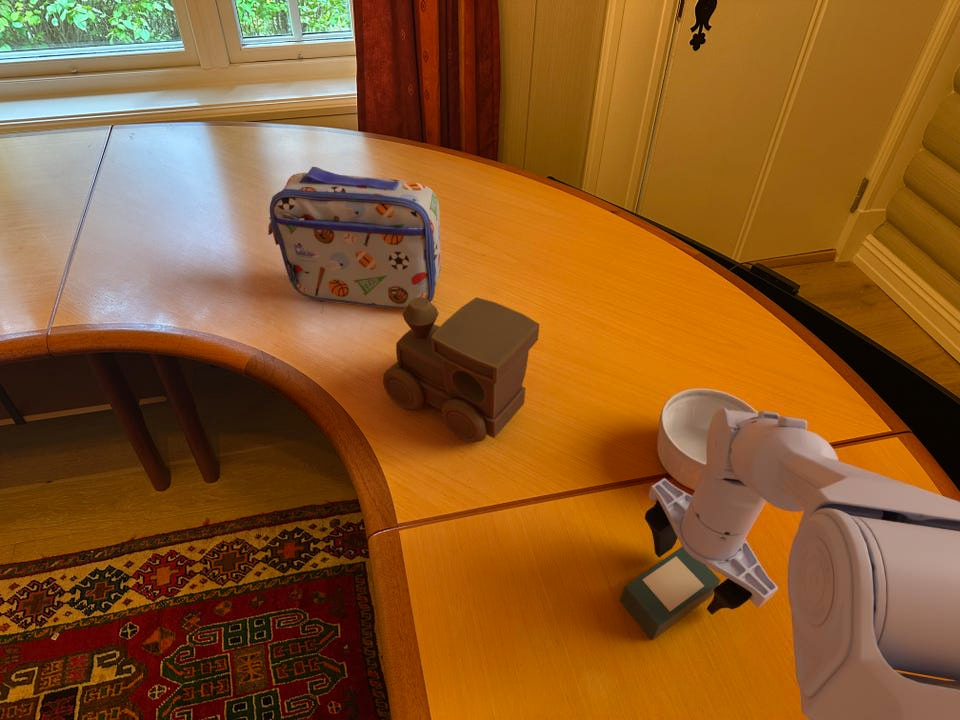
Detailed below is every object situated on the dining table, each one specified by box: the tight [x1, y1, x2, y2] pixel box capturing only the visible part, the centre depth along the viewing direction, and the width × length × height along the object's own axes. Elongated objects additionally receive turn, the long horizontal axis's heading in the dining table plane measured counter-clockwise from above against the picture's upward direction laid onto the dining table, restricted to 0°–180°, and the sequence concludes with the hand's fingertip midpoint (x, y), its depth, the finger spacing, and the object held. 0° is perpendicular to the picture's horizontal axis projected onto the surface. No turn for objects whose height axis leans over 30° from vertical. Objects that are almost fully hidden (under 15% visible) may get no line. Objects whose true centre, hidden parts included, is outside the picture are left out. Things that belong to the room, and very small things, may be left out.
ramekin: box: [656, 387, 759, 491], centre depth 77 cm, size 13×13×7 cm
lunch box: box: [267, 166, 442, 310], centre depth 98 cm, size 28×10×22 cm, turn 82°
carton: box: [619, 546, 722, 641], centre depth 64 cm, size 9×5×4 cm, turn 123°
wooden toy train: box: [382, 296, 540, 444], centre depth 81 cm, size 20×11×17 cm, turn 55°
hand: (688, 578), depth 66 cm, fingers open, 7 cm apart
